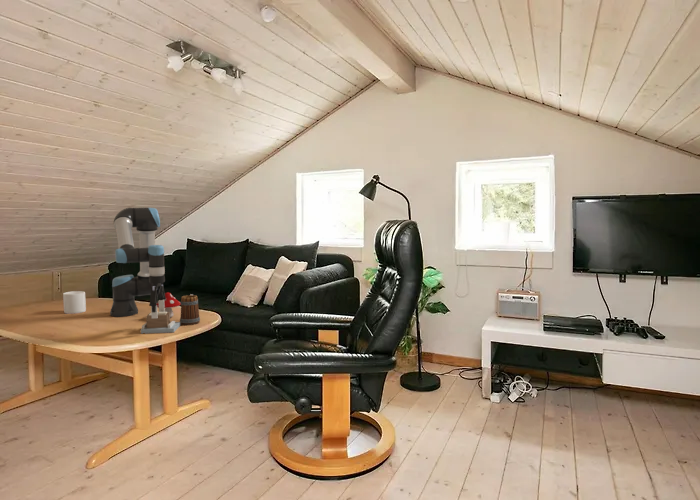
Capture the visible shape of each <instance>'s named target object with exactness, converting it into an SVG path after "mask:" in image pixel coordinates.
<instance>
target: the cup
mask: <svg viewBox="0 0 700 500" xmlns="http://www.w3.org/2000/svg"><path fill="white" fill-rule="evenodd" d="M62 298H63V299H62V300H63V301H62V302H63V312H64V314H66V315H67V314H68V315H70V314H71V315H72V314H81V313H84V312H86V311H87V304H86V303H87V302H86V292H85V291H84V290H72V291H67V292H66V291H65V292H63V293H62Z"/></svg>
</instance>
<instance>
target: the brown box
mask: <svg viewBox="0 0 700 500" xmlns="http://www.w3.org/2000/svg"><path fill="white" fill-rule="evenodd" d="M157 316H158V318H152V316H151V312H150V313H148V314H147V315H146V316H145V317H146V320H145V321H146V322H147V328H164V327H168V325H169V324H170V322H171V318H170V312H159V311H157Z"/></svg>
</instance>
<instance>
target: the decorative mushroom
mask: <svg viewBox="0 0 700 500" xmlns="http://www.w3.org/2000/svg"><path fill="white" fill-rule="evenodd" d="M165 298H166V300H164V309H165V312H170V319H171V318H173V317H174V311H173V308H177V307H181V301H179V300H178V299H176V297H174V295H172V293H171V292H169V291H168V292H165ZM156 306H157V309H159V300H157V304H156Z"/></svg>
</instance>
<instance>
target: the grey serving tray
mask: <svg viewBox="0 0 700 500" xmlns="http://www.w3.org/2000/svg"><path fill="white" fill-rule="evenodd" d="M180 327H181V323H180V321H176V320H171V321H170V324H169V325H168V327H164V328H147V321H146V322H145V323H144V324H142V325H141V329H140V334H142V335H143V333H145V334H166V333H167V334H168V333H169V334H170V333H172V334H173V333H175V332H176V331H177V330H178V329H179V328H180Z"/></svg>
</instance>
